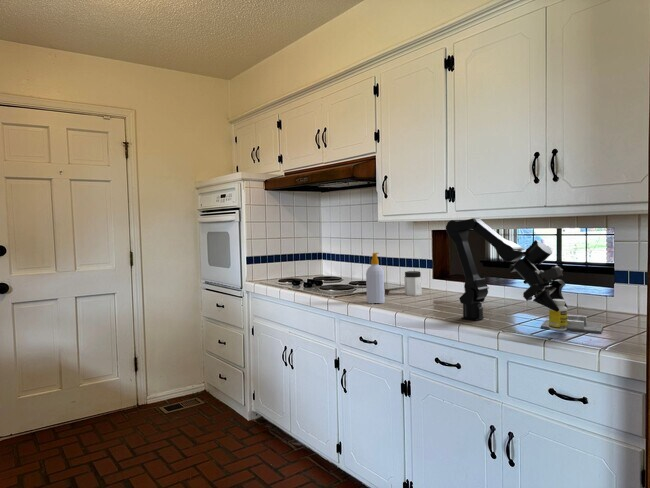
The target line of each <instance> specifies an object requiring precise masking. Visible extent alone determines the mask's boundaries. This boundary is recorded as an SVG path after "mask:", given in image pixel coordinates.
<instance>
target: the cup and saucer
mask: <svg viewBox="0 0 650 488" xmlns="http://www.w3.org/2000/svg"><path fill="white" fill-rule="evenodd" d="M384 287H385V295H386V294H388V293H390V291H391V290H390V289H386V282H385V281H384Z"/></svg>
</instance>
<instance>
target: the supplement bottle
mask: <svg viewBox="0 0 650 488" xmlns="http://www.w3.org/2000/svg"><path fill="white" fill-rule="evenodd" d="M552 300H553V301H554V302H555V304H556V305H557V307H558V308H559V311H558V312H556V311H554V310H552V309H550V308H548V320H549V328H550V329H549V330H552V331H561V332H562V331H565V330H567V315H568V308H567V307H568V306H567V307H565V306H564V305H565V303H566V299H564V300H563V299H552Z"/></svg>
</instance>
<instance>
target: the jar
mask: <svg viewBox="0 0 650 488" xmlns="http://www.w3.org/2000/svg"><path fill="white" fill-rule="evenodd" d="M421 274H422V273H421V271H420V270H419V271H418V270H417V271H416V270H411V271H410V270H409V271H405V272H404V295H406V296H409V297H410V296H411V297H412V296H415V297H416V296H421V295H422V293H423V291H422V277H421V276H422V275H421Z"/></svg>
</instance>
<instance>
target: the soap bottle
mask: <svg viewBox="0 0 650 488" xmlns="http://www.w3.org/2000/svg"><path fill="white" fill-rule="evenodd" d="M378 254H379V252H372V257H371V260H370V262H371V263H370V265H369V267H368V268H367V270H366V273H365V278H366V279H365V280H366V281H365V282H366V283H365V284H366V285H365V286H366V290H365V291H366V303H367V302H368V303H367V304H370V303H382V304H385V302H386V300H385V299H386V298H385V295H386V294H385V289H386V286H385V287H384V282H385V271H384V269H383V268H382V267H381V265H379V264H380V263H379V258H378Z"/></svg>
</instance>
